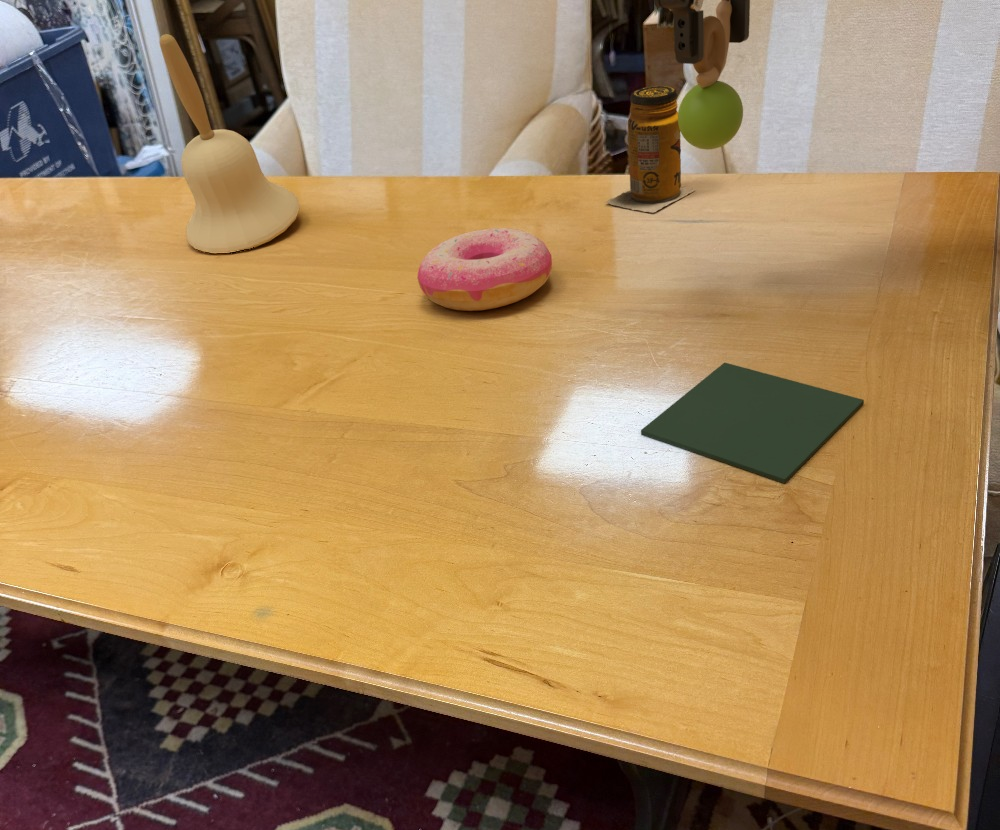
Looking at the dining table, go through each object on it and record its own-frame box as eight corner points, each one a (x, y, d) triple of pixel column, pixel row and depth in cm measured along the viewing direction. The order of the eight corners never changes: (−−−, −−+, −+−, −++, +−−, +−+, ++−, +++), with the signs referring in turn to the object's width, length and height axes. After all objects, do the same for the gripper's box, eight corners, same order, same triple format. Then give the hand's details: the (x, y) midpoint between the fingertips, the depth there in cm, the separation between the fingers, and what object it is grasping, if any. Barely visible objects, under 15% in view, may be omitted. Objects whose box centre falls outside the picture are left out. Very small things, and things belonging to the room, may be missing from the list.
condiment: (696, 190, 110) (696, 85, 103) (653, 214, 106) (650, 105, 99) (647, 182, 115) (644, 81, 107) (604, 205, 110) (598, 100, 103)
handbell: (320, 197, 123) (251, 0, 104) (279, 263, 113) (195, 58, 95) (220, 202, 127) (137, 13, 109) (172, 266, 117) (72, 70, 99)
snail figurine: (755, 135, 80) (759, -19, 73) (728, 159, 76) (729, -1, 69) (697, 133, 83) (696, -15, 76) (668, 157, 79) (663, 2, 72)
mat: (724, 366, 76) (724, 362, 76) (863, 404, 69) (864, 399, 69) (640, 434, 70) (640, 429, 69) (784, 483, 62) (785, 479, 62)
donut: (577, 273, 95) (573, 226, 92) (507, 329, 87) (500, 280, 84) (474, 258, 102) (467, 215, 99) (399, 309, 94) (389, 263, 91)
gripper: (722, -205, 71) (721, 30, 81) (609, -185, 64) (623, 73, 73) (811, -220, 67) (798, 31, 76) (701, -200, 59) (702, 77, 69)
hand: (712, 51), depth 75 cm, fingers closed on snail figurine, 6 cm apart
